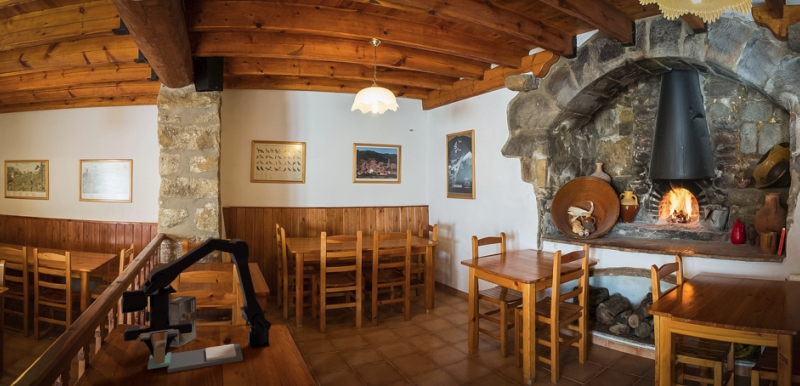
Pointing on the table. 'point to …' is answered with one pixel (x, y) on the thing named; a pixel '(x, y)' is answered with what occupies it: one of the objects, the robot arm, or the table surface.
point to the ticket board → (205, 357)
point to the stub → (159, 356)
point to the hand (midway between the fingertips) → (159, 356)
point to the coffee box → (182, 318)
